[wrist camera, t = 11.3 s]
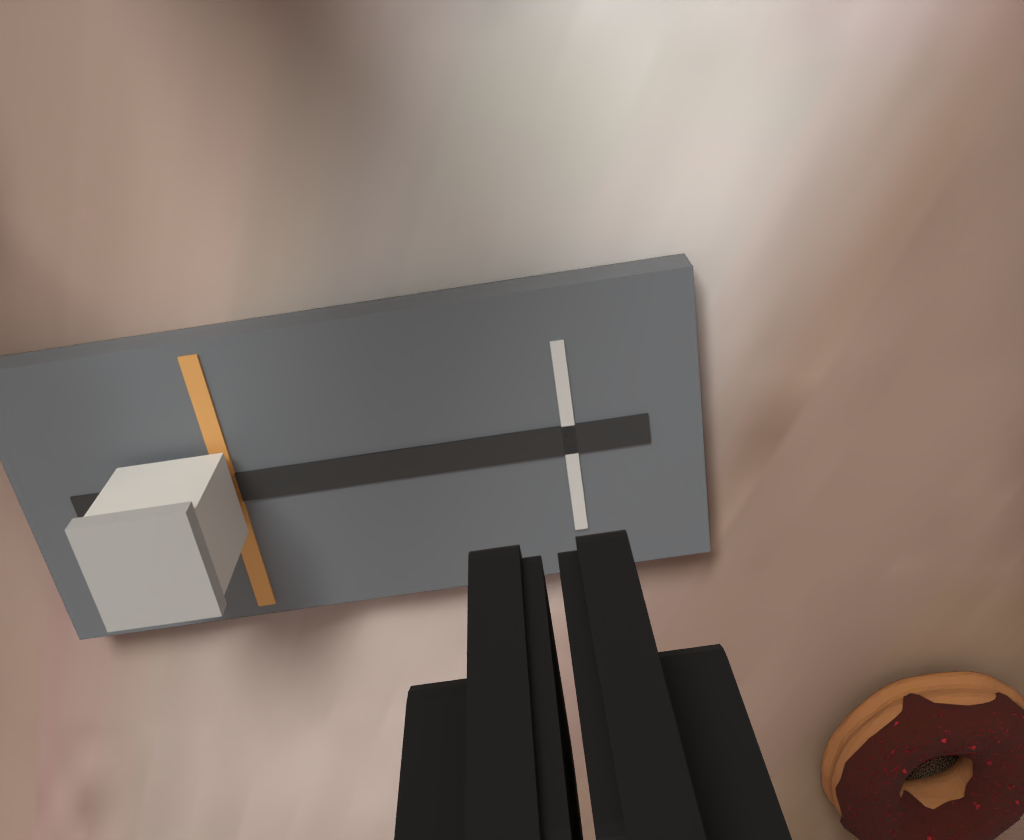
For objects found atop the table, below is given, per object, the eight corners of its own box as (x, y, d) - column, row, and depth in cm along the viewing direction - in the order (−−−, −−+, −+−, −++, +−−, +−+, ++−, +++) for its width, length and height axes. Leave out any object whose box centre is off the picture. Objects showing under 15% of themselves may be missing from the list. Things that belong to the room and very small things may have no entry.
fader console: (684, 253, 34) (693, 267, 33) (702, 531, 40) (710, 553, 38) (-18, 358, 35) (-39, 376, 34) (92, 616, 40) (78, 641, 39)
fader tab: (220, 444, 35) (185, 512, 31) (250, 539, 37) (222, 616, 32) (113, 459, 35) (64, 530, 31) (149, 553, 37) (107, 632, 33)
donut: (896, 840, 49) (929, 910, 45) (769, 748, 46) (794, 816, 42) (1063, 726, 46) (1113, 792, 42) (940, 619, 42) (983, 680, 39)
